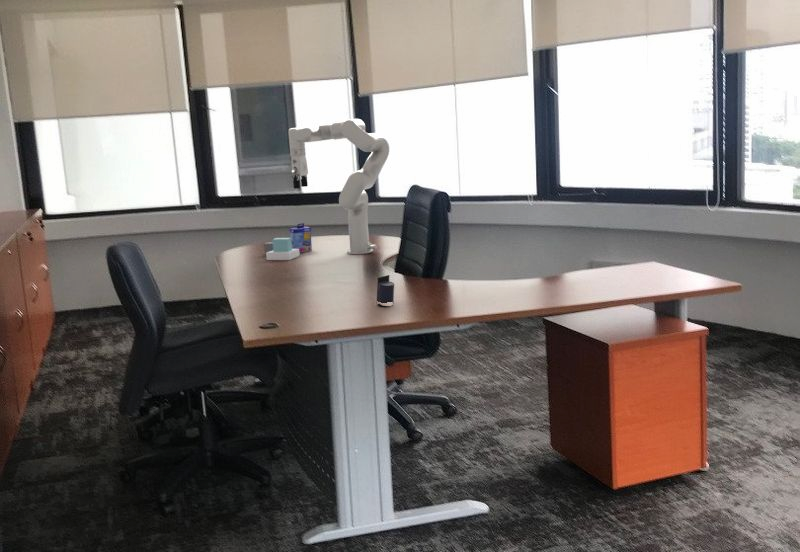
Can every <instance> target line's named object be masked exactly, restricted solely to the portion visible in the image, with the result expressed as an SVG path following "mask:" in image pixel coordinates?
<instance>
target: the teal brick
mask: <svg viewBox="0 0 800 552" xmlns="http://www.w3.org/2000/svg"><path fill="white" fill-rule="evenodd" d="M271 242H273V252H288V251H291V250H292V241H291V238H290V237H275V238H273V239H272V241H271Z"/></svg>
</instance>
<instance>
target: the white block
mask: <svg viewBox="0 0 800 552" xmlns="http://www.w3.org/2000/svg"><path fill="white" fill-rule="evenodd" d="M300 254H301V252H299V249H292V250H291V251H288V252H273V251H270V252H267V253H266V255H265V256H266V258H265V259H266V261H289V260H290V261H291V260H292V259H293V260H294V259H295V258H298V257H300V256H301V255H300Z"/></svg>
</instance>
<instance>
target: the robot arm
mask: <svg viewBox="0 0 800 552" xmlns="http://www.w3.org/2000/svg"><path fill="white" fill-rule="evenodd" d="M341 139H347V141H349V142H351V144H353V145H354V146H355V147H357V149H360V150H361V151H363V152H364V153H365V152H366V153H370V152H371V153H370V154H369V156H368V157H367V158H366V160H365V163H364V164H363V166H362V167H361V169H359V170H355V171H354V172H352V173H351V174H350V175H349V176H348V178H347V180H346V182H345V183H344V186H343V188H342V190H341V192H340V193H339V197H338V203H339V205H340V207H341V208H342V209H343V210H347V211H348V213H347V222H348V223H347V224H348V237H349V239H348V240H349V249H347V250H346V253H347V254H348V255H364V254H369V253H372V252H373V250H377V249H378V245H377V244H372V242H370V238H369V237H370V235H369V220H368V219H369V218H368V208H369V207H368V206H369V196H368V193H367V192H366V190H368V189H371V188H372V187H374V185H375V183H376V182H377V181H376V180H377V179H378V177H379V175H380V174H381V171H382V168H383V167H384V165H385V163H386V162H387V160H388V157H389V154H390V144H389V141H388V139H387V137H386V136H385V135H384V134H383V133H380V132H372V133H371V132H370V133H368V132H366V124H365V122H364V121H363V120H362V119H360V118H350V119H345V120H338V121H332V122H331V123H329V124H322V125H321V124H320V125H311V126H304V127H291V128H289V129H288V140H289V141H288V142H289V152H290V153H289V155H290V157H291V160H290V161H291V175H292V176H291V177H292V183H293V185H292V186H293V189H300V188H301V187H302V188H303V187H308V174H309V170H308V162H307V155H306V154H307V153H306V144H305V143H315V142H323V141H328V140H334V141H335V140H341Z"/></svg>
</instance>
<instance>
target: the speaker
mask: <svg viewBox="0 0 800 552" xmlns="http://www.w3.org/2000/svg"><path fill="white" fill-rule="evenodd" d="M376 289H377V291H376V302H377V301H378V302H381V303H387V302H393V303H394V302H395V301H394V297H395V283H394V282H392V281H390V274H387V275H382V276H378V277H377V287H376Z"/></svg>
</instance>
